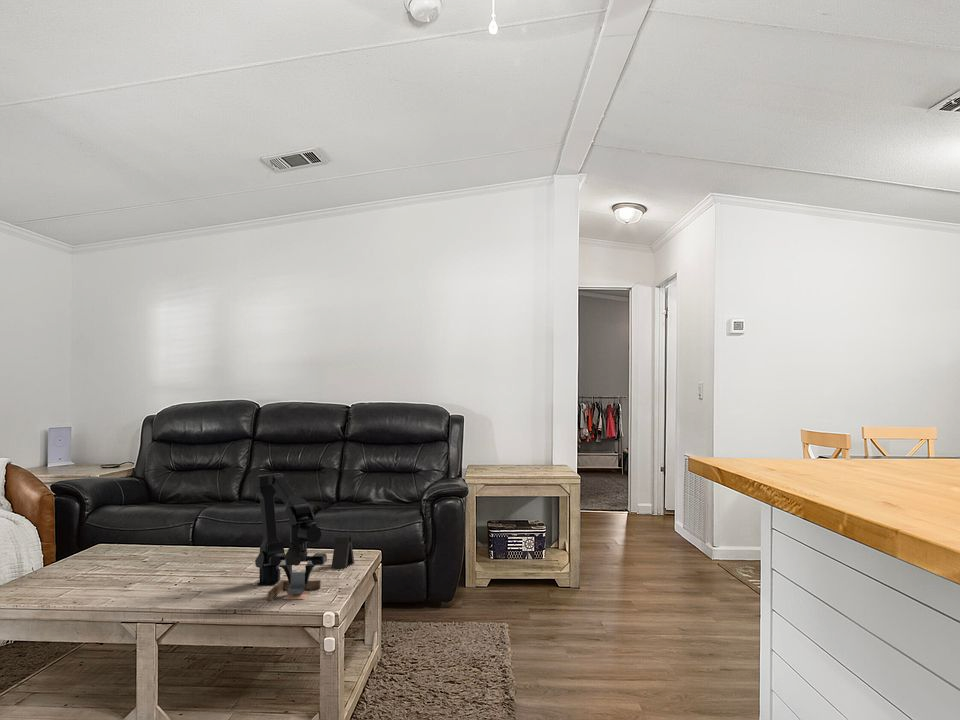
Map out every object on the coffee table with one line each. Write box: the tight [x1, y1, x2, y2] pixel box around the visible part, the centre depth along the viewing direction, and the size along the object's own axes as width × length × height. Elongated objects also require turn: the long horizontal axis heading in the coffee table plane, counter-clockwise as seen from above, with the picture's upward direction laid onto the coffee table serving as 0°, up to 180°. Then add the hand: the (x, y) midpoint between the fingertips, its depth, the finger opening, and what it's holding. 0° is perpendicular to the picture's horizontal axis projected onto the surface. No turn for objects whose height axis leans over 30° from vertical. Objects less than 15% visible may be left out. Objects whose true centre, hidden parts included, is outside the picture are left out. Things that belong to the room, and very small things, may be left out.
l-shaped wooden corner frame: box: [267, 579, 322, 602], centre depth 236 cm, size 14×15×3 cm
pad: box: [283, 591, 311, 600], centre depth 234 cm, size 7×8×1 cm
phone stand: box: [330, 534, 355, 569], centre depth 274 cm, size 9×6×12 cm, turn 166°
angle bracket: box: [286, 571, 306, 595], centre depth 234 cm, size 5×5×6 cm
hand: (298, 583), depth 236 cm, fingers closed on angle bracket, 5 cm apart
